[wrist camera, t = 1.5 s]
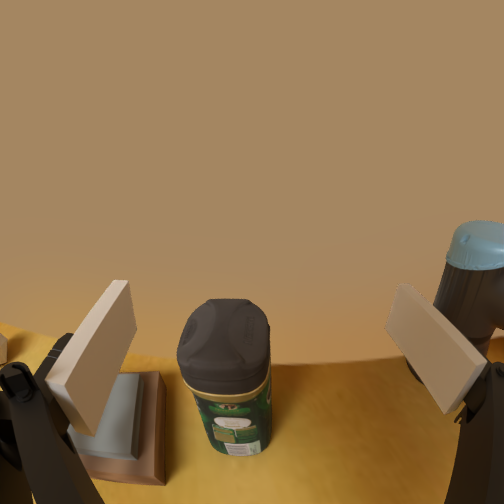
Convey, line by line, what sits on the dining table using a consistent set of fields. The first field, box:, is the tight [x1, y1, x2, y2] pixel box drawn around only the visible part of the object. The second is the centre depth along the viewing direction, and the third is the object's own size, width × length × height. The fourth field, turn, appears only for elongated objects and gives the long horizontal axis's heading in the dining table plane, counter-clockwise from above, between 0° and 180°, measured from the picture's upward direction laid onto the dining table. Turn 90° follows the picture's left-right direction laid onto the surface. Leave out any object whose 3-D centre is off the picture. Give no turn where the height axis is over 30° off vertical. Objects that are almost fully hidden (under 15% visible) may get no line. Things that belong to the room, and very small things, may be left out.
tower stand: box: [67, 371, 166, 486], centre depth 27 cm, size 16×16×6 cm
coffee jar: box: [177, 299, 272, 456], centre depth 27 cm, size 10×8×19 cm
